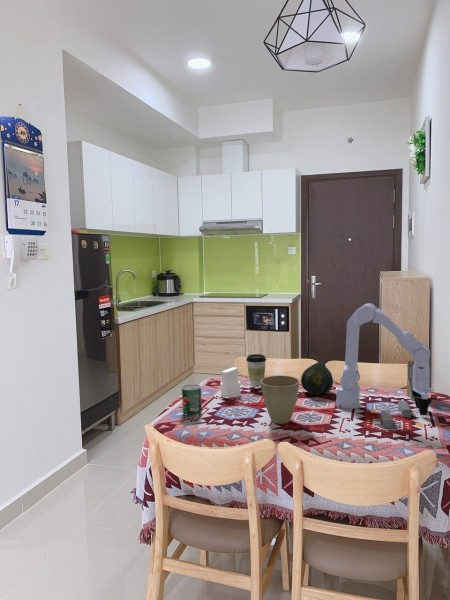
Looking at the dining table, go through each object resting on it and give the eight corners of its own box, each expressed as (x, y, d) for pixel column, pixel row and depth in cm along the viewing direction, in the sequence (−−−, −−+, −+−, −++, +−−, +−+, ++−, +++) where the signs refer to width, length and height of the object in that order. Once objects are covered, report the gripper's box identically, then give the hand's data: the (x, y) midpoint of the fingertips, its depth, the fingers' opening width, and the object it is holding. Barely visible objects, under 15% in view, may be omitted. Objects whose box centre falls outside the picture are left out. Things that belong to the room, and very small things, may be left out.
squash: (292, 384, 207) (313, 360, 203) (298, 376, 221) (319, 354, 217) (315, 406, 204) (338, 383, 200) (321, 397, 218) (342, 375, 214)
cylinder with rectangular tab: (228, 391, 218) (227, 366, 217) (244, 393, 213) (243, 368, 212) (217, 396, 211) (216, 370, 210) (233, 399, 206) (232, 373, 205)
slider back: (402, 416, 174) (402, 409, 174) (398, 408, 184) (398, 400, 183) (410, 417, 173) (410, 409, 173) (406, 408, 183) (406, 401, 183)
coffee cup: (245, 389, 220) (244, 358, 219) (248, 383, 230) (247, 353, 229) (266, 389, 219) (265, 358, 217) (267, 383, 228) (266, 353, 227)
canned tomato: (178, 413, 190) (177, 387, 189) (192, 408, 196) (191, 383, 195) (192, 417, 185) (190, 391, 184) (205, 412, 190) (204, 386, 189)
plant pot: (254, 417, 182) (253, 378, 181) (287, 411, 188) (286, 373, 186) (273, 430, 169) (272, 388, 167) (307, 423, 174) (306, 382, 173)
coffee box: (427, 403, 191) (427, 366, 189) (410, 403, 192) (410, 365, 191) (422, 396, 200) (422, 360, 198) (406, 396, 201) (406, 360, 200)
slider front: (383, 427, 164) (383, 419, 164) (380, 417, 174) (380, 410, 173) (392, 428, 163) (392, 420, 163) (389, 418, 173) (389, 410, 173)
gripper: (437, 382, 168) (436, 418, 169) (428, 372, 182) (428, 405, 183) (416, 382, 169) (416, 417, 171) (409, 371, 183) (409, 404, 185)
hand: (421, 411), depth 177 cm, fingers open, 7 cm apart
